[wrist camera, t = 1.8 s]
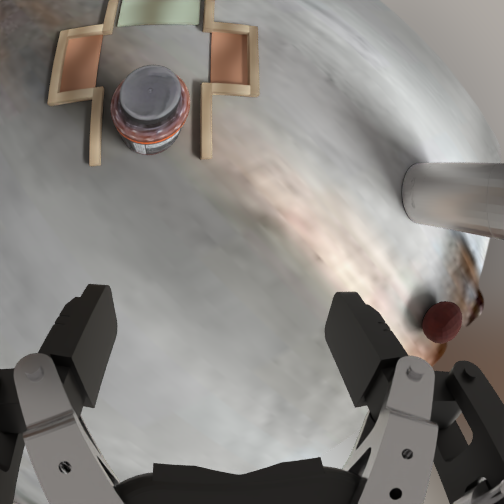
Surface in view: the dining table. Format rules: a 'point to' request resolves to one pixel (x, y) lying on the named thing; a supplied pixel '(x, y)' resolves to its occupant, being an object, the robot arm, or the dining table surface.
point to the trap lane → (155, 13)
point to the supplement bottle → (150, 109)
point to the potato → (442, 322)
